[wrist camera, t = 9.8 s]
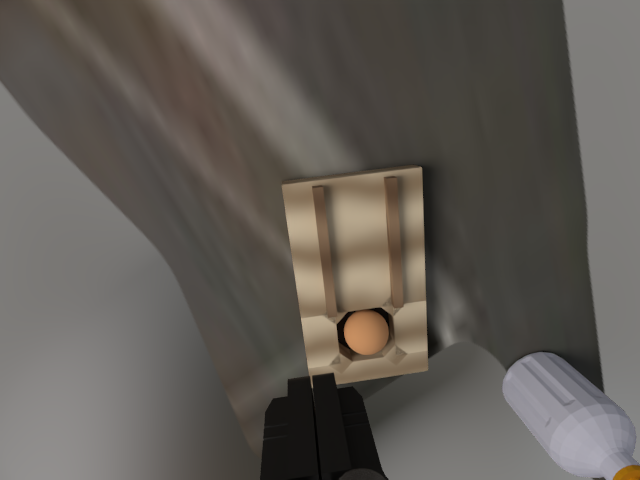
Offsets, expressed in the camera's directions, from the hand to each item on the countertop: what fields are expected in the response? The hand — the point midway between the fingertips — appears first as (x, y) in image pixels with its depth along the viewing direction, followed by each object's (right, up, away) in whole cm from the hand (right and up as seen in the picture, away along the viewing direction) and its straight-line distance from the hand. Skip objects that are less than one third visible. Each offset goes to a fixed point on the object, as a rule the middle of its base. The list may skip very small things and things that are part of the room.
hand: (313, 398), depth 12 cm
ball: (+5, -5, +30) cm, 31 cm away
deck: (+5, +1, +31) cm, 31 cm away
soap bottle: (+28, -13, +37) cm, 49 cm away
